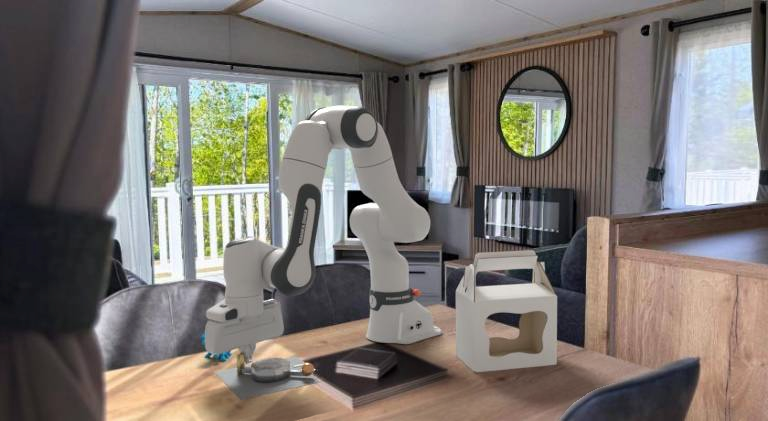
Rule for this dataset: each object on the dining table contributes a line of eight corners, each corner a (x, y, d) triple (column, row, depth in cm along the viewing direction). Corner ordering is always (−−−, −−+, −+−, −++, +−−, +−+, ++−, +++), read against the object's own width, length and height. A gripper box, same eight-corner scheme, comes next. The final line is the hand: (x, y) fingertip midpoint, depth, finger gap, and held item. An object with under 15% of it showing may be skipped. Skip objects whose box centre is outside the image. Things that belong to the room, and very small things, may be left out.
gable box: (473, 373, 140) (473, 257, 138) (454, 356, 153) (454, 249, 151) (557, 365, 145) (558, 253, 143) (532, 349, 158) (533, 246, 156)
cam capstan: (245, 366, 143) (244, 347, 143) (319, 370, 139) (319, 351, 139) (228, 380, 134) (227, 360, 133) (307, 384, 130) (306, 364, 130)
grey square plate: (295, 360, 151) (295, 355, 151) (330, 383, 134) (330, 378, 134) (214, 376, 140) (214, 371, 140) (240, 404, 123) (240, 398, 123)
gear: (224, 361, 145) (198, 332, 147) (207, 378, 146) (182, 348, 147) (241, 354, 156) (217, 326, 158) (226, 369, 157) (202, 341, 158)
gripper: (271, 295, 148) (274, 348, 150) (199, 312, 133) (203, 371, 134) (287, 298, 144) (290, 353, 145) (214, 317, 129) (218, 377, 130)
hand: (247, 362), depth 140 cm, fingers closed
